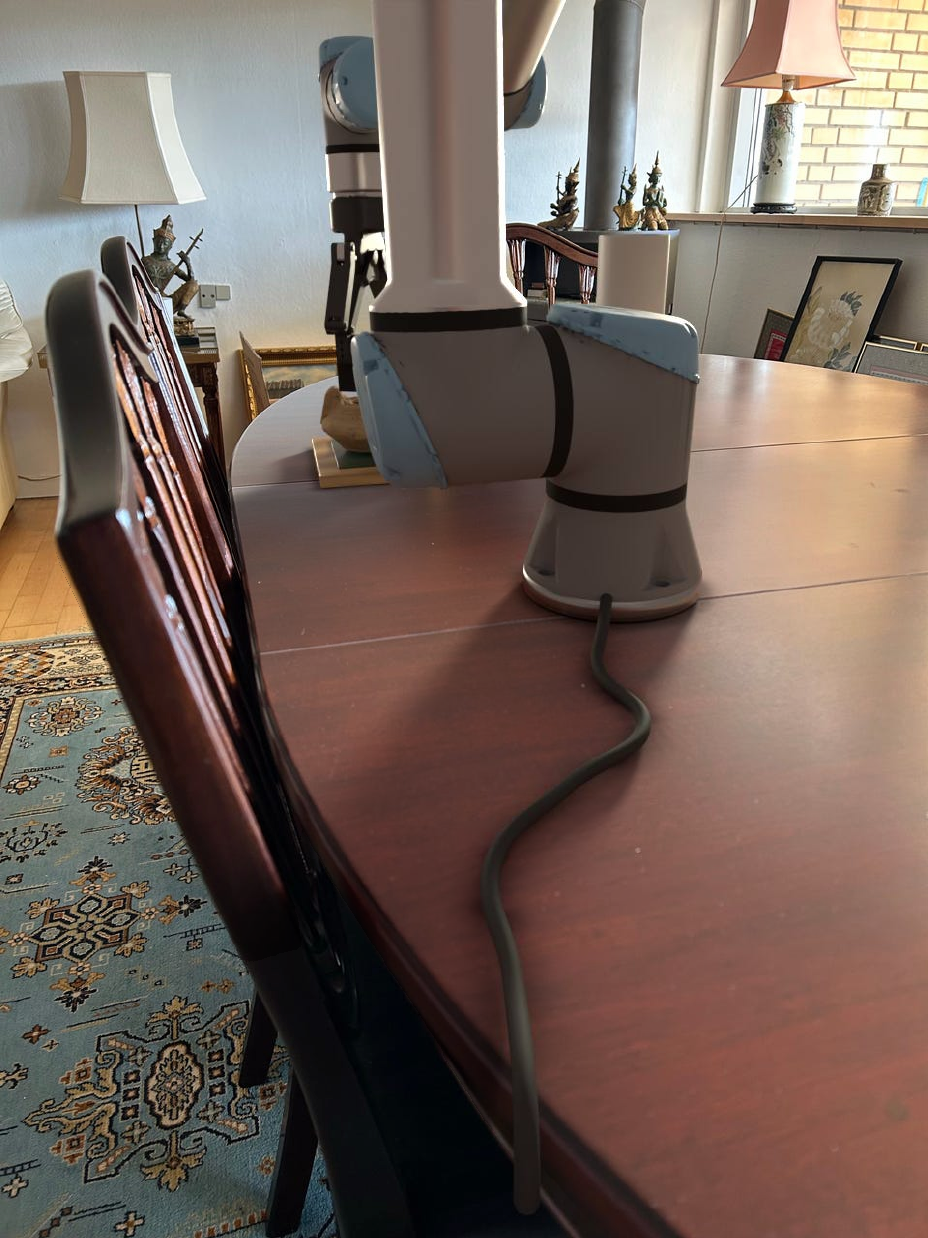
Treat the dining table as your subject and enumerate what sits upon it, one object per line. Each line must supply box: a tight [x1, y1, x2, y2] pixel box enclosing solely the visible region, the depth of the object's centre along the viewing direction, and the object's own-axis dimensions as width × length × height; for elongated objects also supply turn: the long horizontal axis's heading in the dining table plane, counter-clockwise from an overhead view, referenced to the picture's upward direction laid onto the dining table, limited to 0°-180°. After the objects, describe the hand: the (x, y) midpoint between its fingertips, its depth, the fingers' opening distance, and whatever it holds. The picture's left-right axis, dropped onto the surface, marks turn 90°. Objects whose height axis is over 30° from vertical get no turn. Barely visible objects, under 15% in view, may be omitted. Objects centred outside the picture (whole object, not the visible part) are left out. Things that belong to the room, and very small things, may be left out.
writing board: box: [311, 436, 389, 489], centre depth 117 cm, size 20×16×2 cm
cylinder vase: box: [595, 233, 671, 315], centre depth 164 cm, size 12×12×25 cm
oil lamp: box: [319, 385, 371, 452], centre depth 115 cm, size 11×15×8 cm
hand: (372, 381), depth 113 cm, fingers open, 13 cm apart
